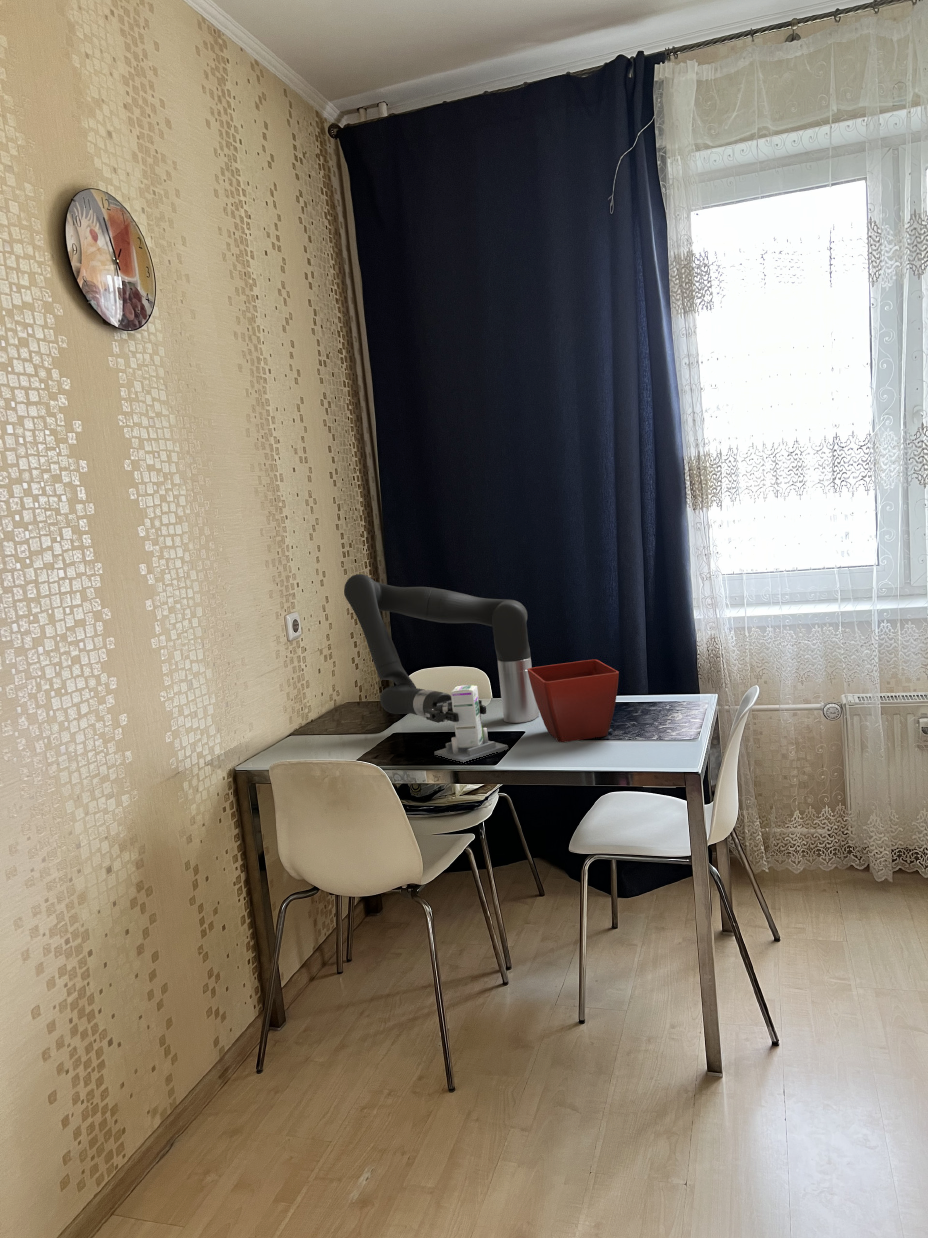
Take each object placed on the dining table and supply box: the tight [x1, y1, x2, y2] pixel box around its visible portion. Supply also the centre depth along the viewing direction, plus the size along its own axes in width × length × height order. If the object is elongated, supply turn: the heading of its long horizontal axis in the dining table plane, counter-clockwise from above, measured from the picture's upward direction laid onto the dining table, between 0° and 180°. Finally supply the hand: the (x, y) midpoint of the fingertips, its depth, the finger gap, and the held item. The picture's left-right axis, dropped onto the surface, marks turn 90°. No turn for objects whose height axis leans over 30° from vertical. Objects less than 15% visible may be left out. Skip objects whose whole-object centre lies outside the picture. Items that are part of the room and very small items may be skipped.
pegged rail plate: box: [434, 727, 509, 763], centre depth 226 cm, size 14×12×5 cm
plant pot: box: [527, 659, 620, 743], centre depth 231 cm, size 19×19×17 cm
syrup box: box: [450, 684, 483, 748], centre depth 225 cm, size 6×6×14 cm
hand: (471, 714), depth 223 cm, fingers open, 8 cm apart
